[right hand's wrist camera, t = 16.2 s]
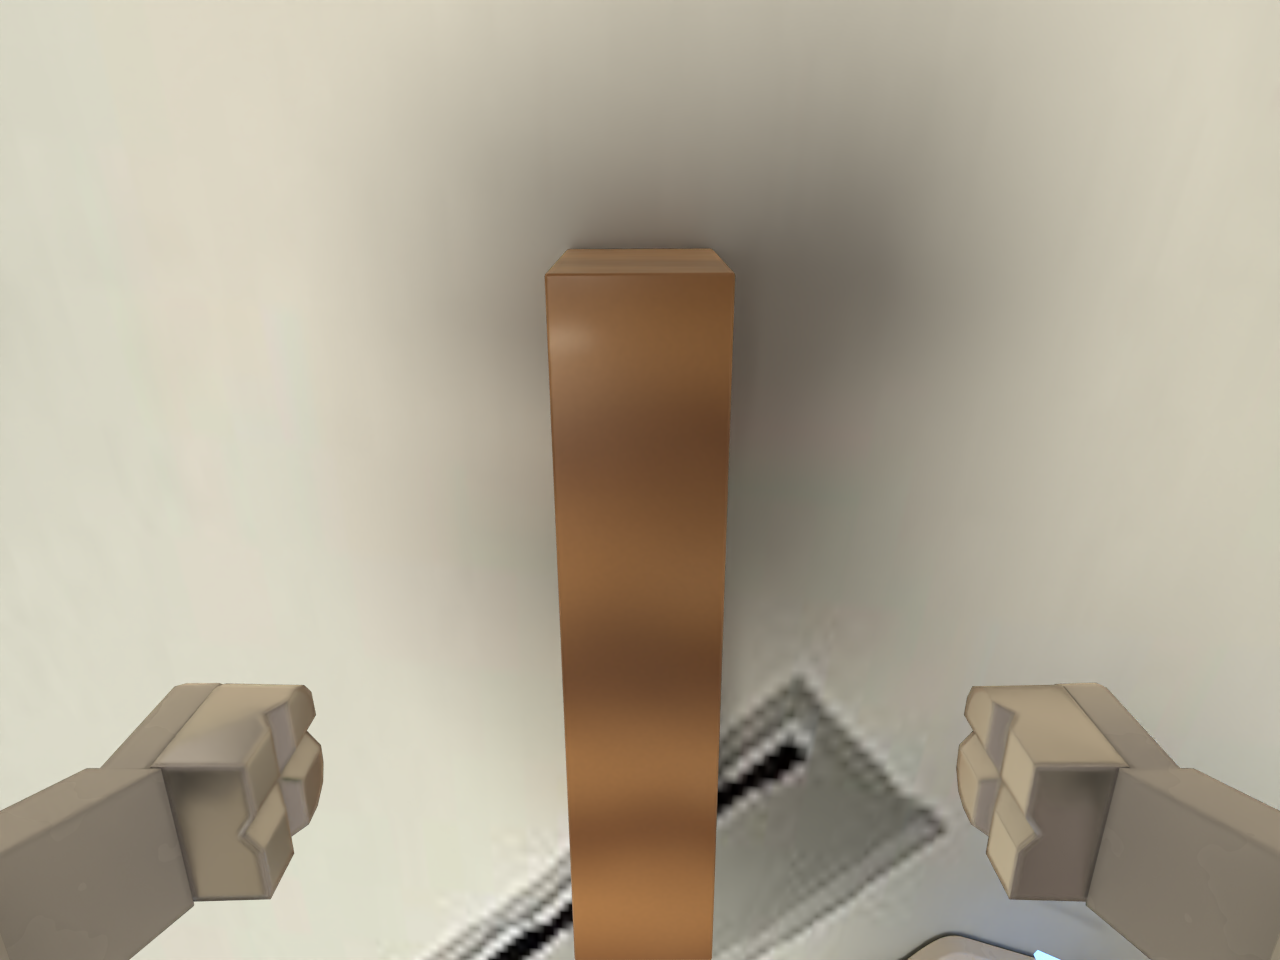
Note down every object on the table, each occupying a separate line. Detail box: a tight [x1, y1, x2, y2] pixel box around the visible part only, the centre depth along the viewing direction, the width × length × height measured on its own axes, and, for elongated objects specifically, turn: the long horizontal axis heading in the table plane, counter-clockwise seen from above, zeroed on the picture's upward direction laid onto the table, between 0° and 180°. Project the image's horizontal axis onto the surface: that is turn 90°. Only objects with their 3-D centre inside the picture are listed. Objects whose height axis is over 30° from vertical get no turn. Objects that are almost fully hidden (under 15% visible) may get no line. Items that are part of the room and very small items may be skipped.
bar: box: [545, 248, 735, 960], centre depth 32 cm, size 27×6×8 cm, turn 0°
